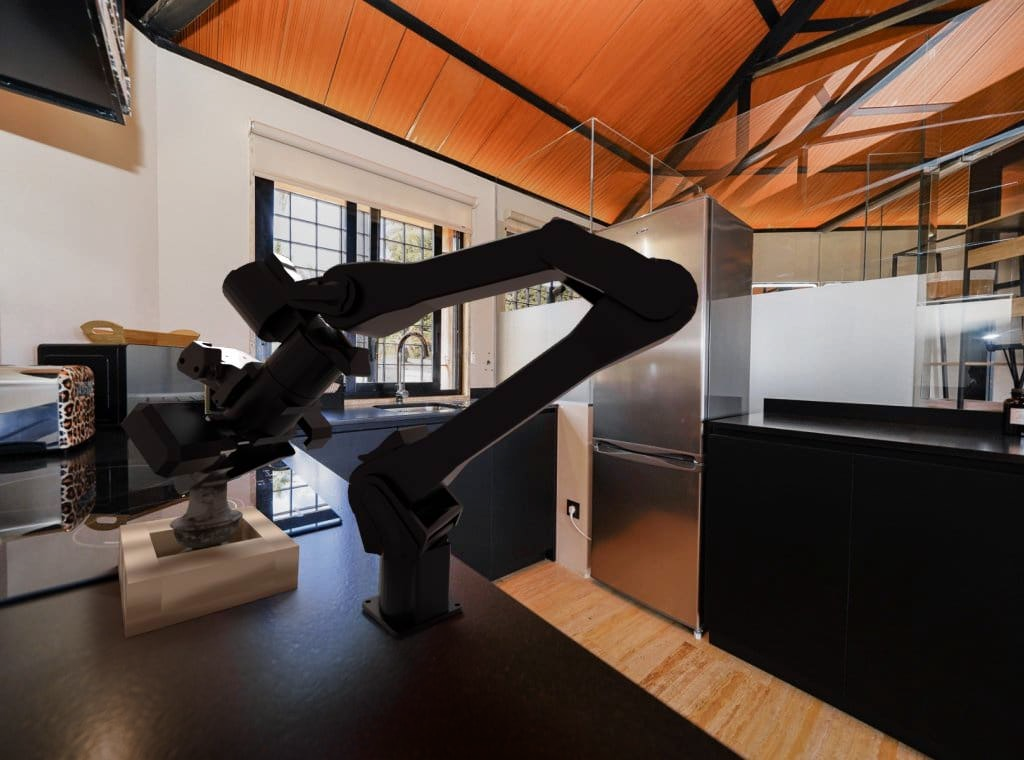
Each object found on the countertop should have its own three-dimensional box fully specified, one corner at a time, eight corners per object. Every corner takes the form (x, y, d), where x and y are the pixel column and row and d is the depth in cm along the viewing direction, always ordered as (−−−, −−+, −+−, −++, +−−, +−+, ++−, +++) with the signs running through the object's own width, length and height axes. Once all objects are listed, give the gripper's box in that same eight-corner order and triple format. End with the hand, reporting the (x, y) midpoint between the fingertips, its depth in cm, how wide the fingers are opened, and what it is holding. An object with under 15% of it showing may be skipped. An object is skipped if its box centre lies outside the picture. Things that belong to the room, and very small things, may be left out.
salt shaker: (233, 562, 40) (237, 436, 40) (156, 571, 38) (161, 437, 38) (248, 540, 45) (251, 429, 45) (182, 547, 43) (185, 430, 43)
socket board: (297, 587, 40) (299, 545, 40) (125, 638, 31) (128, 584, 31) (251, 538, 52) (252, 505, 52) (117, 564, 43) (119, 525, 43)
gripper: (313, 331, 50) (234, 420, 52) (144, 297, 32) (35, 435, 34) (370, 399, 48) (286, 488, 50) (225, 403, 30) (103, 542, 32)
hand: (198, 485), depth 42 cm, fingers closed on salt shaker, 3 cm apart
